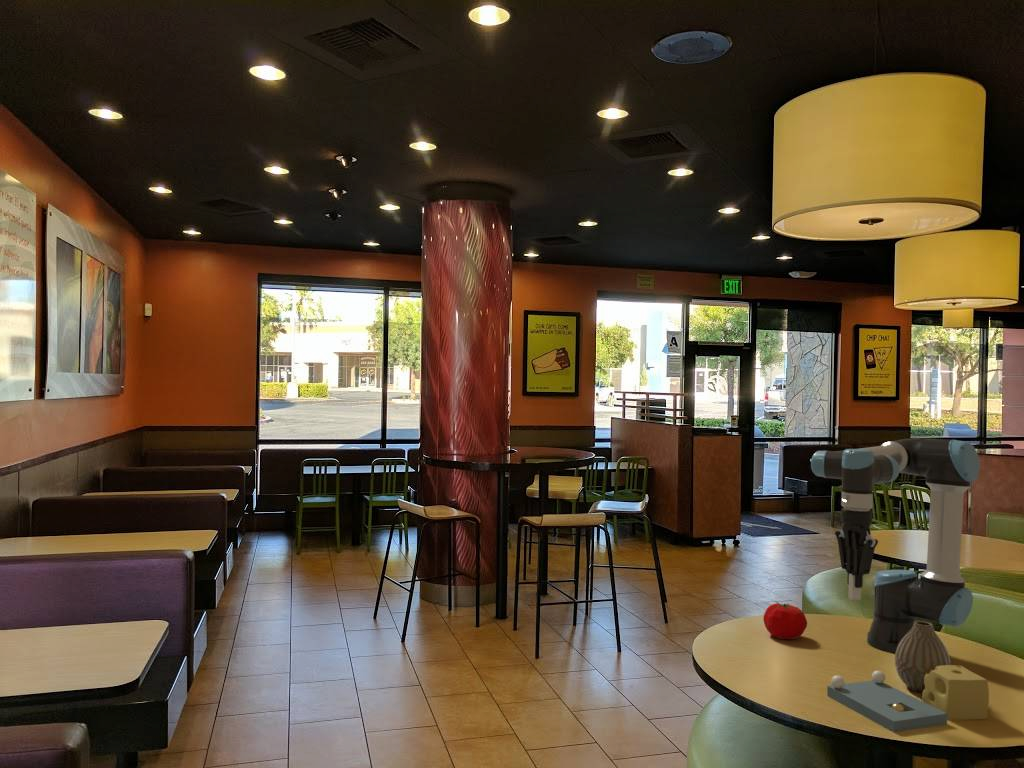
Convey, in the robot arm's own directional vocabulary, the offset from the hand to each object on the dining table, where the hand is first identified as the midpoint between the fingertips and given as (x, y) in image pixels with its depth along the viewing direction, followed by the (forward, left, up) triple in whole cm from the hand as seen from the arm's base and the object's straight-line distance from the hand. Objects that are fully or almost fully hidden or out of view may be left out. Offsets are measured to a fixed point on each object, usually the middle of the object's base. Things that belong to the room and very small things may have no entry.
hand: (854, 598), depth 205 cm
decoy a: (-6, +2, -20) cm, 21 cm away
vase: (-20, +3, -25) cm, 32 cm away
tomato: (-12, -43, -25) cm, 51 cm away
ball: (0, +15, -23) cm, 27 cm away
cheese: (-16, +17, -25) cm, 34 cm away
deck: (0, +11, -24) cm, 27 cm away
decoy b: (+7, +2, -20) cm, 21 cm away
